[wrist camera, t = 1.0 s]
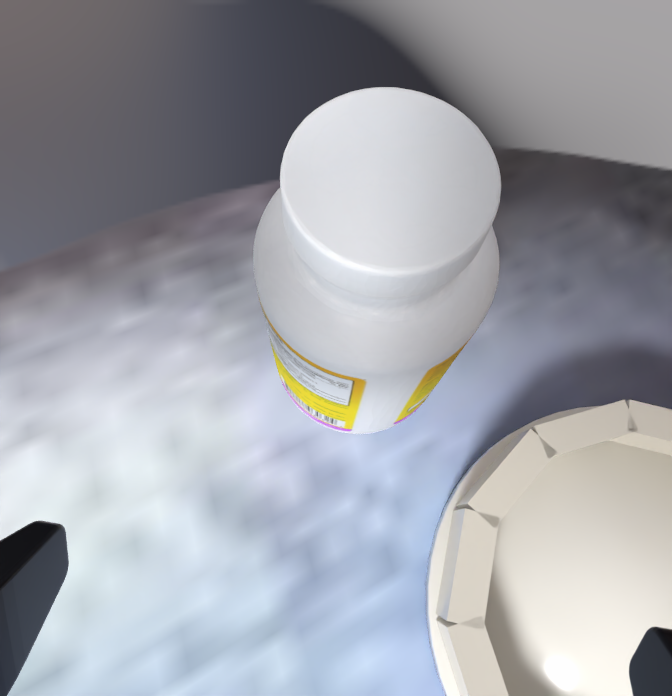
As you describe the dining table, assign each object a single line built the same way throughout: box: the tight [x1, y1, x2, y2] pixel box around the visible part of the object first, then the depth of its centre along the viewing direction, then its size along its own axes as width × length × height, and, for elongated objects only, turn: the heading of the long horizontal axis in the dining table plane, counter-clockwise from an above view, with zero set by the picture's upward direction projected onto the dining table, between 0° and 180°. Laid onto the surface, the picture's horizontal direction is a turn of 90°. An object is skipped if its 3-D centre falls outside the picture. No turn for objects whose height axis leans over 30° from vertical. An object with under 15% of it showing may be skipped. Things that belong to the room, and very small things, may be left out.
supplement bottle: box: [253, 87, 501, 434], centre depth 18 cm, size 7×7×13 cm
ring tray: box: [425, 399, 672, 696], centre depth 20 cm, size 15×15×3 cm
